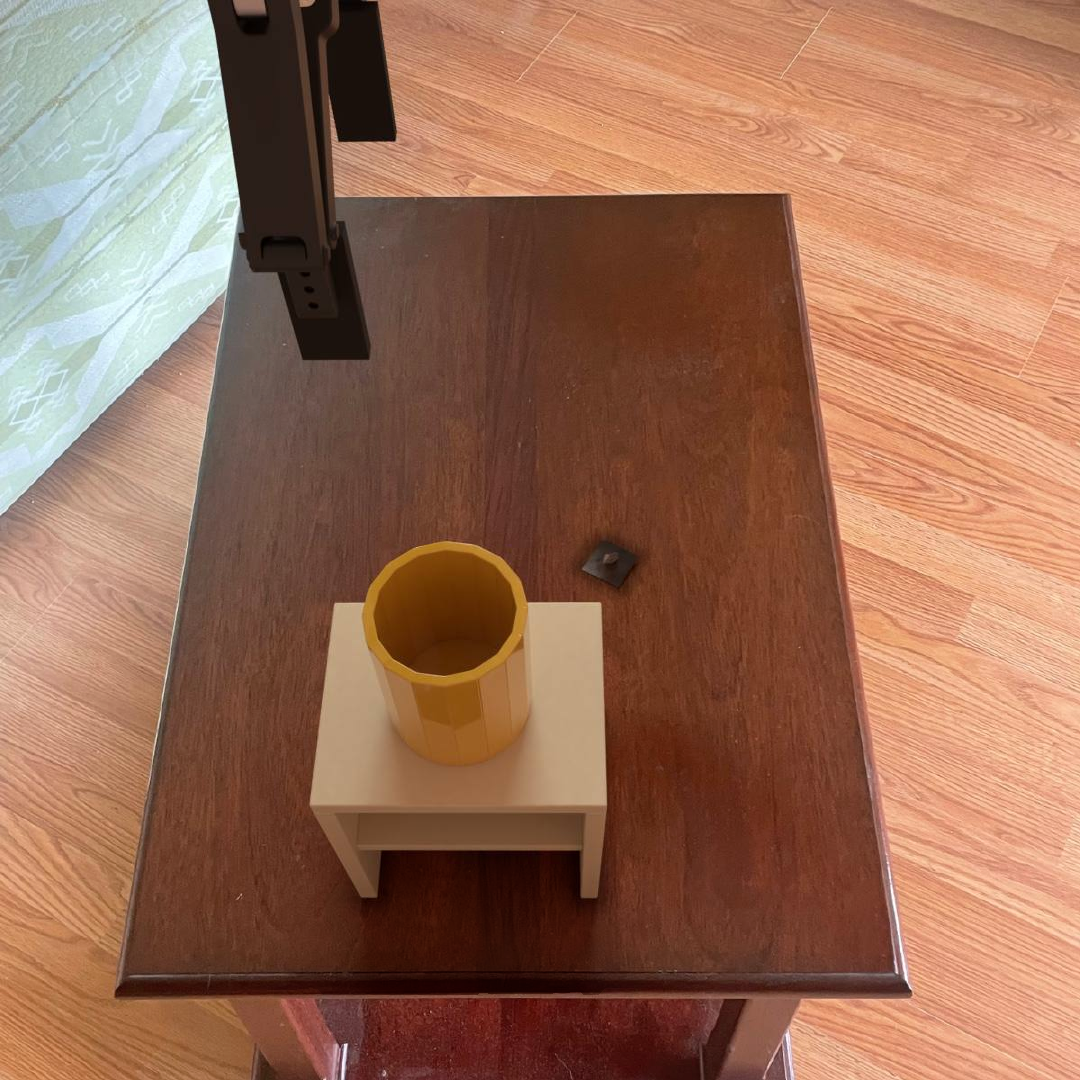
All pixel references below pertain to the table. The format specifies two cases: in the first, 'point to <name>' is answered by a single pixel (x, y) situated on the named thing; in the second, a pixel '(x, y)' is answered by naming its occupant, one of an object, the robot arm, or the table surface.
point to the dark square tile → (610, 563)
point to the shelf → (473, 790)
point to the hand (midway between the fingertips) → (353, 237)
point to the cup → (451, 651)
